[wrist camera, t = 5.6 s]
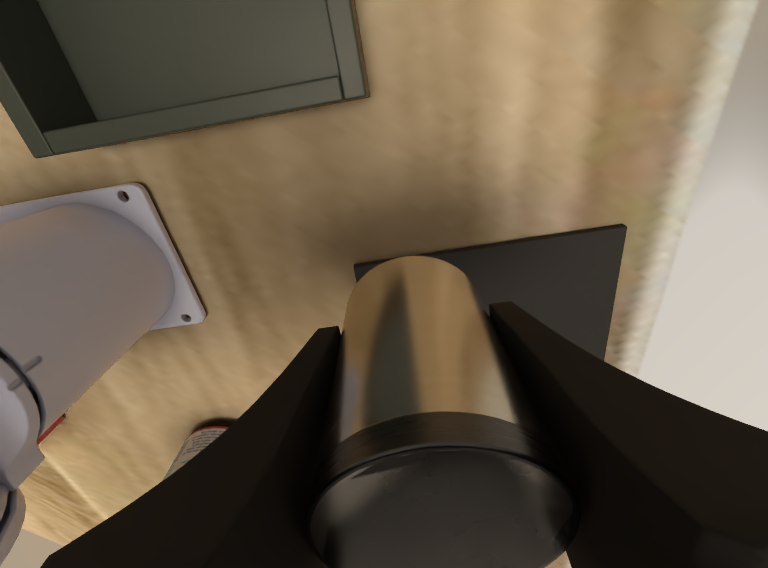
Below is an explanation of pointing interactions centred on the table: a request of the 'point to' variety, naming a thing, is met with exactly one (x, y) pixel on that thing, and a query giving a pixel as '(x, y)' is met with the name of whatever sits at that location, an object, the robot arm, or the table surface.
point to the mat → (547, 279)
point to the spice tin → (432, 437)
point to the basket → (169, 65)
